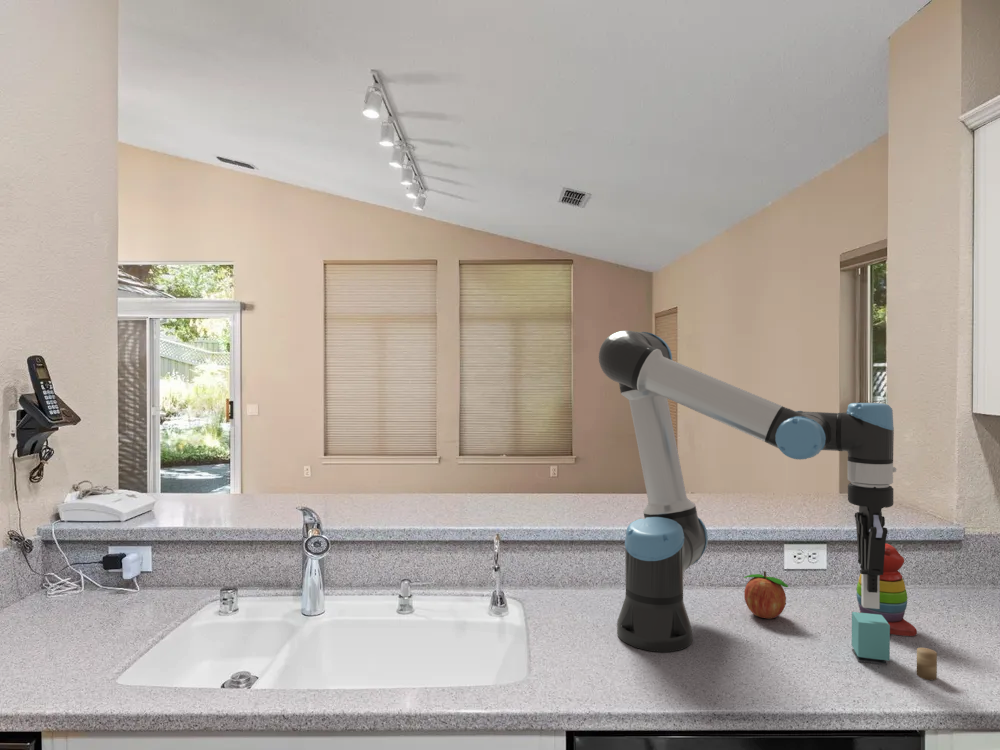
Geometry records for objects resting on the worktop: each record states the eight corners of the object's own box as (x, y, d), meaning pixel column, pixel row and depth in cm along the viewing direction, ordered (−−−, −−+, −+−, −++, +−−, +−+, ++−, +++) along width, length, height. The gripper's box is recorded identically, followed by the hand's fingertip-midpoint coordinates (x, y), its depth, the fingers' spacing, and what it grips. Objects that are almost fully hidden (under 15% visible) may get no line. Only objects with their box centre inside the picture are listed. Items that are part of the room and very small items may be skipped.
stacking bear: (920, 637, 129) (921, 551, 128) (866, 633, 131) (867, 548, 130) (898, 617, 139) (899, 537, 139) (848, 613, 141) (849, 535, 141)
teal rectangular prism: (858, 656, 118) (858, 622, 118) (851, 645, 123) (851, 611, 123) (889, 660, 117) (889, 625, 116) (881, 648, 122) (881, 614, 121)
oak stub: (920, 678, 112) (920, 653, 112) (914, 671, 115) (914, 646, 115) (939, 681, 111) (939, 656, 111) (933, 673, 114) (933, 648, 114)
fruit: (775, 627, 134) (775, 581, 134) (734, 614, 141) (734, 570, 141) (794, 617, 139) (794, 572, 139) (753, 604, 147) (754, 562, 146)
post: (858, 661, 118) (858, 624, 118) (852, 650, 123) (852, 615, 123) (887, 665, 117) (887, 628, 117) (879, 653, 121) (879, 618, 121)
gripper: (903, 491, 112) (903, 622, 112) (882, 478, 124) (882, 596, 125) (856, 489, 114) (856, 617, 114) (840, 477, 127) (840, 593, 127)
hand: (870, 606), depth 120 cm, fingers closed
